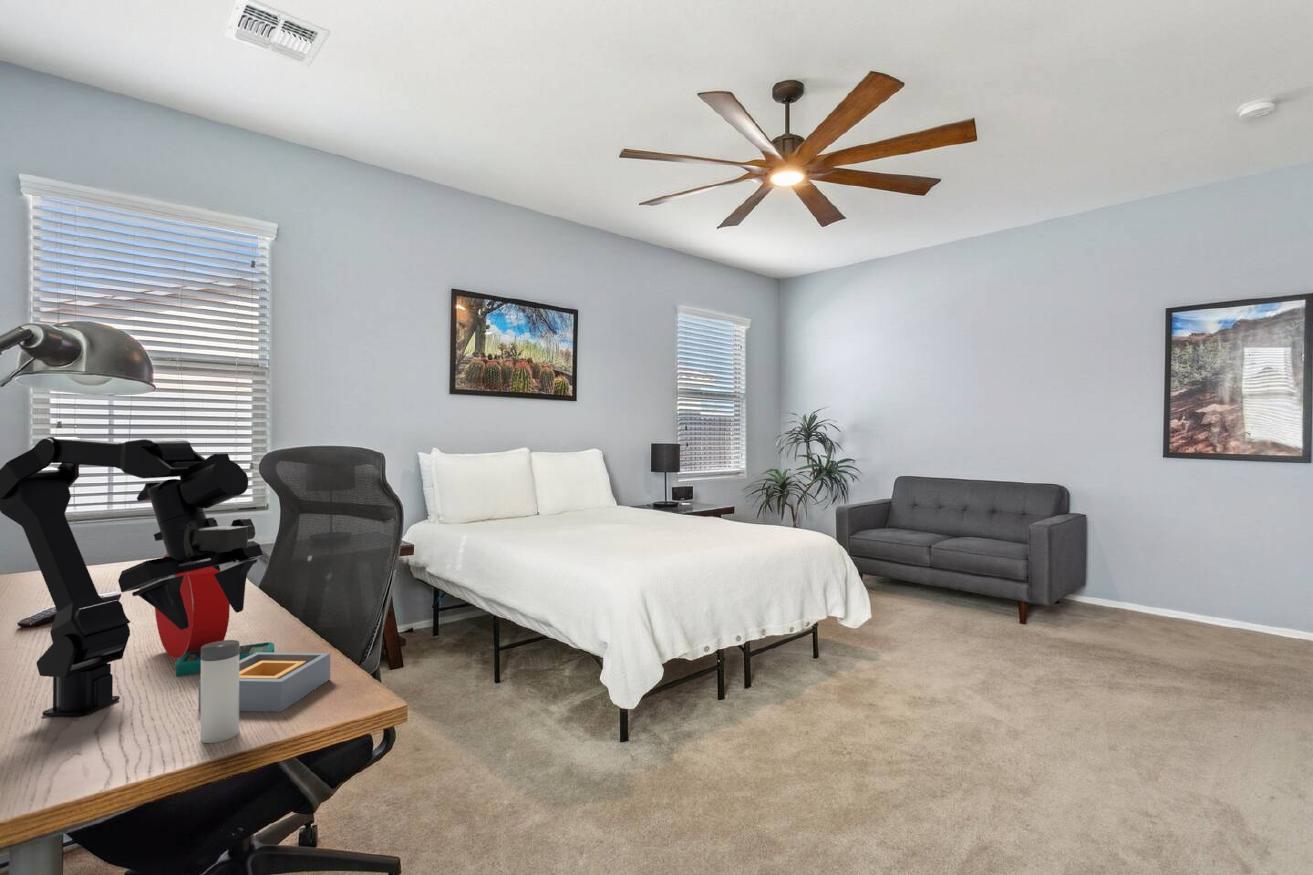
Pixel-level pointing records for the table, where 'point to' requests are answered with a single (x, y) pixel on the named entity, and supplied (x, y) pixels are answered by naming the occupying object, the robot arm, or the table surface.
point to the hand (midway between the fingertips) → (213, 619)
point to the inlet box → (278, 679)
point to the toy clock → (196, 614)
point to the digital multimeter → (192, 659)
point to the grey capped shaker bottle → (219, 691)
